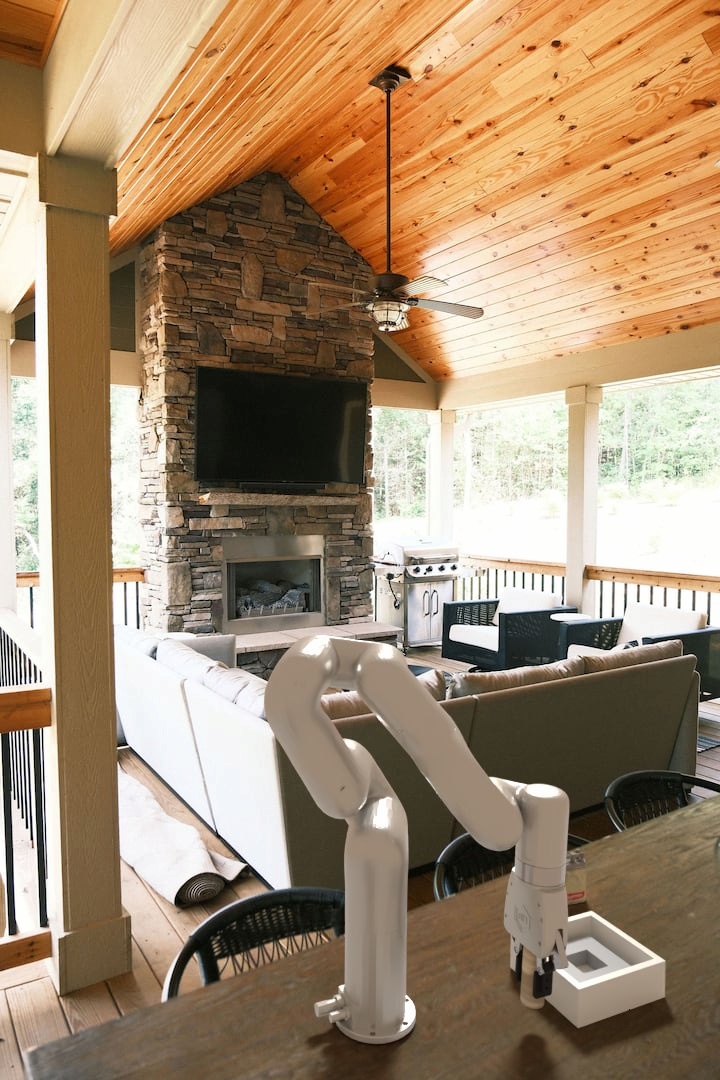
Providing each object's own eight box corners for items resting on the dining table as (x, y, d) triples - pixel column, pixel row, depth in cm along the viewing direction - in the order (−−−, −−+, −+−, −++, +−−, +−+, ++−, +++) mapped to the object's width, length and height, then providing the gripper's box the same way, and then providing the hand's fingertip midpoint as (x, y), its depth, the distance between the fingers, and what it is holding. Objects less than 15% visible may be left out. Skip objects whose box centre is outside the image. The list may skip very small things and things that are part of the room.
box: (578, 1028, 114) (578, 989, 114) (510, 967, 130) (510, 933, 129) (664, 997, 122) (665, 960, 122) (591, 943, 137) (591, 910, 137)
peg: (530, 1011, 112) (533, 945, 112) (515, 996, 116) (519, 932, 115) (549, 1005, 114) (553, 940, 114) (534, 991, 117) (537, 928, 117)
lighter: (559, 907, 150) (560, 857, 150) (548, 898, 153) (549, 850, 153) (589, 901, 152) (590, 852, 152) (578, 892, 156) (579, 845, 156)
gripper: (487, 849, 120) (481, 962, 121) (556, 899, 105) (548, 1028, 106) (525, 843, 123) (519, 953, 124) (597, 890, 108) (590, 1015, 109)
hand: (533, 986), depth 115 cm, fingers closed on peg, 3 cm apart
